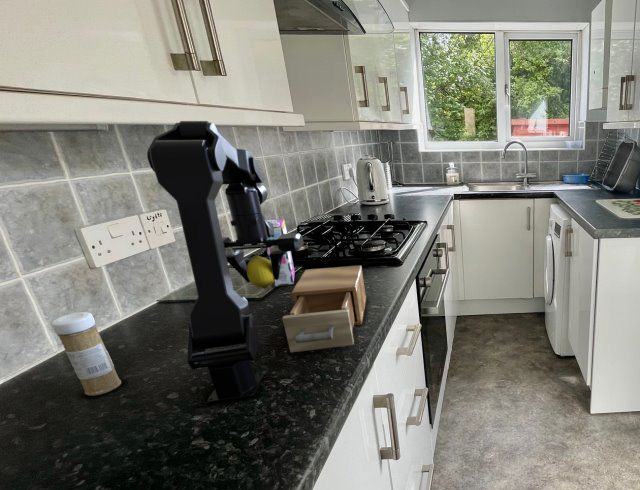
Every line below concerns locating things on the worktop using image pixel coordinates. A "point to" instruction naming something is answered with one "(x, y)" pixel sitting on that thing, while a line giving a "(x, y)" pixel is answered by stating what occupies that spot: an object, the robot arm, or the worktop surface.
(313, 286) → the cabinet
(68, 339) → the sprinkles bottle
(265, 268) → the lemon
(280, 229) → the candy bar box
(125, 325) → the worktop surface
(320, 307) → the drawer
